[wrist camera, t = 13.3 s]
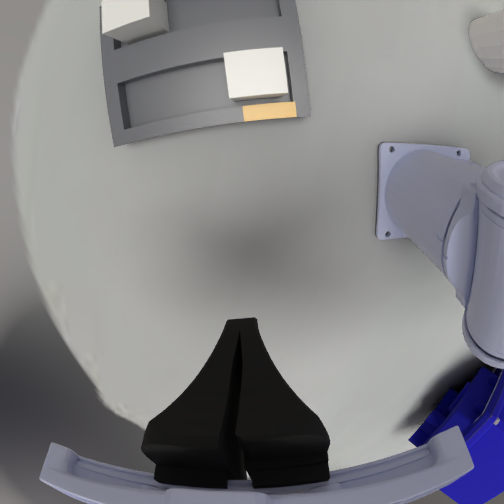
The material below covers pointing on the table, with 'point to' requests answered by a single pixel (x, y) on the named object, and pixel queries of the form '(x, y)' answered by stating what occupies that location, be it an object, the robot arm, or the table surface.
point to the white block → (256, 74)
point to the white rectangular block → (134, 19)
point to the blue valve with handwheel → (473, 435)
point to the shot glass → (489, 40)
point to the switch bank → (200, 68)
